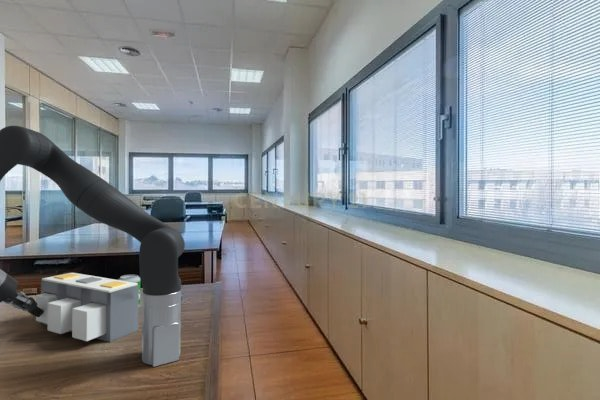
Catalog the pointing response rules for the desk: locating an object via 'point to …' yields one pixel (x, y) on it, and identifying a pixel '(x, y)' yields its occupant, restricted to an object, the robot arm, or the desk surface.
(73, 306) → the middle button
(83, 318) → the near button
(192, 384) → the desk surface
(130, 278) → the soda can
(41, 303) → the white rectangular block
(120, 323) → the button panel
